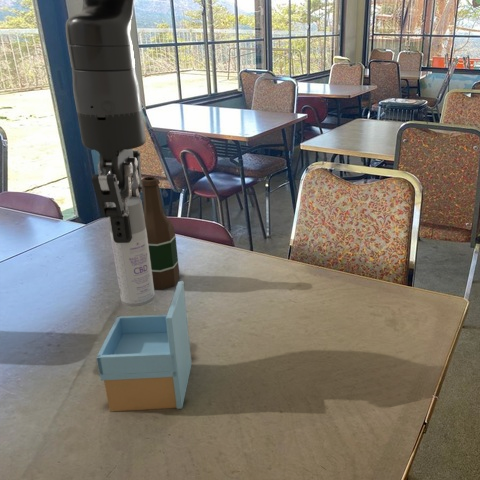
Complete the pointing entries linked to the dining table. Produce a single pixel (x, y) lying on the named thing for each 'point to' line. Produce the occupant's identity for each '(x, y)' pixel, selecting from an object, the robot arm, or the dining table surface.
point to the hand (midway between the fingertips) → (128, 233)
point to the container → (134, 260)
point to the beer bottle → (159, 237)
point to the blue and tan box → (147, 359)
